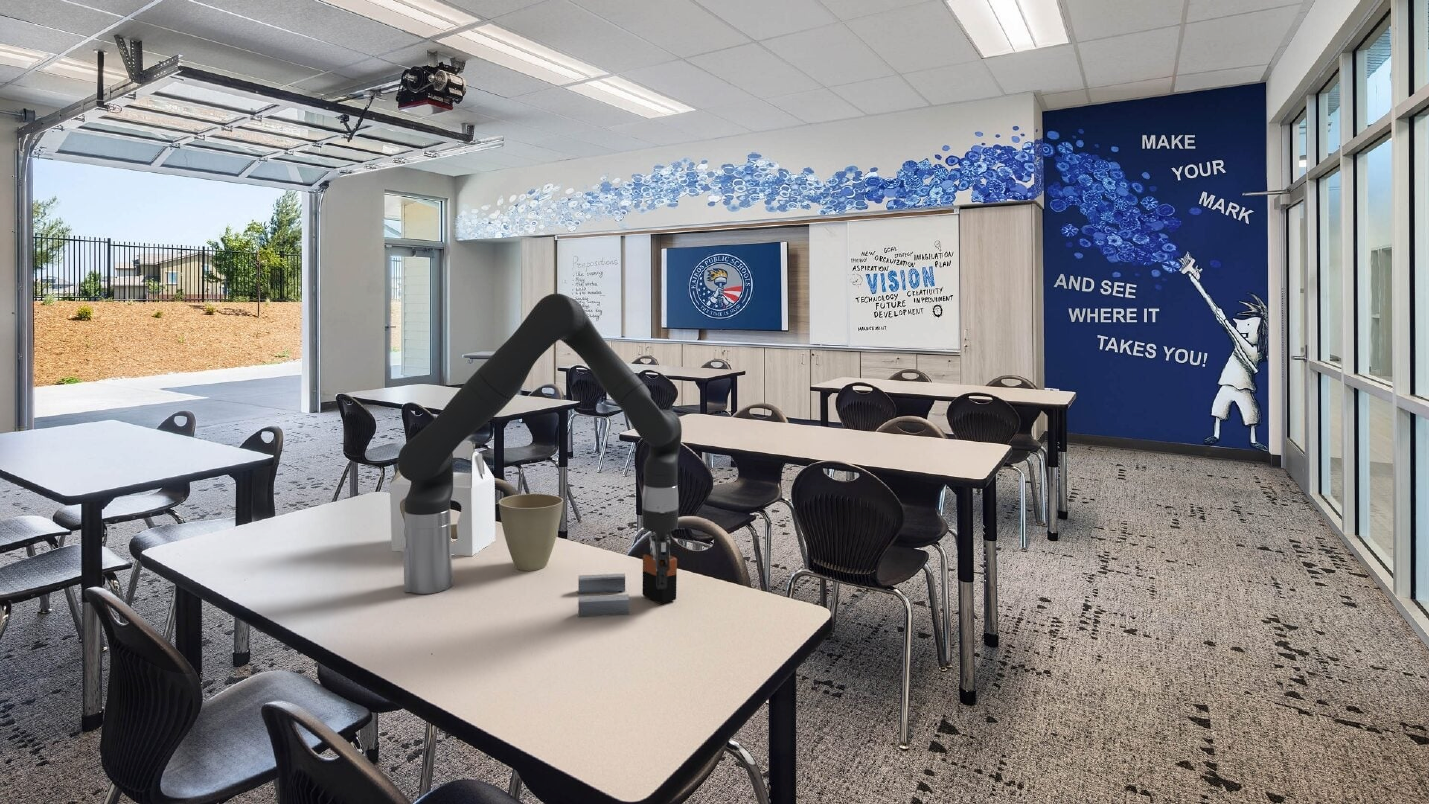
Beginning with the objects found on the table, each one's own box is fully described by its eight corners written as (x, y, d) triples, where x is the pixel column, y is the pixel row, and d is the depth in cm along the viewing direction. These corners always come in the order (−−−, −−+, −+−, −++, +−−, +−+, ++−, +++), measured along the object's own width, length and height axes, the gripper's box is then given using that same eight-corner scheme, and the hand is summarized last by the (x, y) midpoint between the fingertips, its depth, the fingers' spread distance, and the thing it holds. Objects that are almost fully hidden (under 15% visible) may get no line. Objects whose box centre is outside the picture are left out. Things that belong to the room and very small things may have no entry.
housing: (578, 616, 149) (578, 600, 149) (578, 590, 164) (578, 575, 164) (629, 614, 151) (629, 597, 151) (624, 588, 166) (624, 573, 165)
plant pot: (511, 580, 170) (510, 511, 168) (491, 562, 182) (490, 497, 181) (573, 569, 178) (573, 503, 176) (550, 553, 190) (549, 491, 189)
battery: (660, 604, 156) (661, 557, 155) (641, 595, 161) (641, 550, 160) (677, 600, 158) (678, 553, 157) (657, 591, 164) (658, 546, 162)
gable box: (496, 541, 199) (495, 437, 197) (473, 556, 186) (471, 445, 184) (418, 537, 203) (415, 434, 200) (390, 551, 190) (387, 441, 187)
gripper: (639, 498, 164) (639, 571, 165) (645, 514, 150) (644, 594, 152) (674, 497, 165) (673, 570, 167) (682, 514, 151) (681, 592, 153)
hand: (659, 581), depth 159 cm, fingers closed on battery, 8 cm apart
